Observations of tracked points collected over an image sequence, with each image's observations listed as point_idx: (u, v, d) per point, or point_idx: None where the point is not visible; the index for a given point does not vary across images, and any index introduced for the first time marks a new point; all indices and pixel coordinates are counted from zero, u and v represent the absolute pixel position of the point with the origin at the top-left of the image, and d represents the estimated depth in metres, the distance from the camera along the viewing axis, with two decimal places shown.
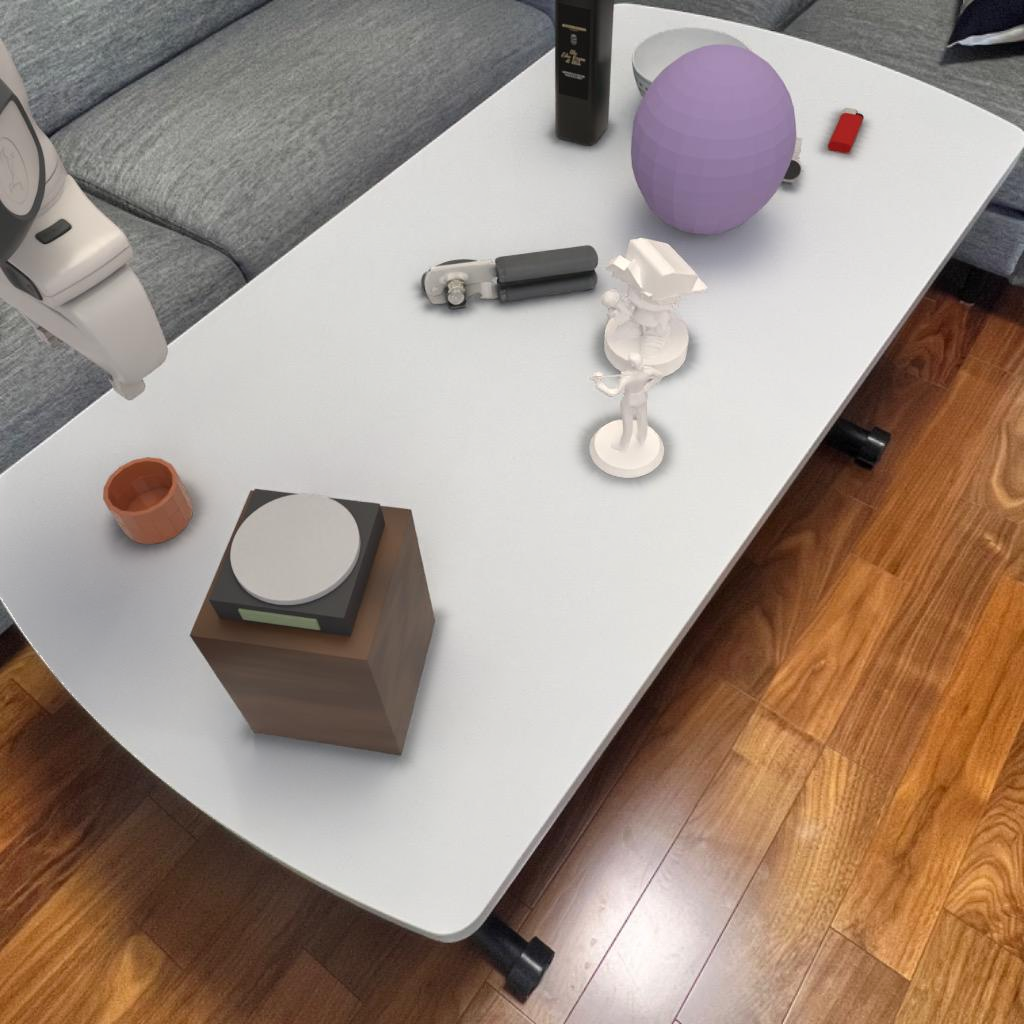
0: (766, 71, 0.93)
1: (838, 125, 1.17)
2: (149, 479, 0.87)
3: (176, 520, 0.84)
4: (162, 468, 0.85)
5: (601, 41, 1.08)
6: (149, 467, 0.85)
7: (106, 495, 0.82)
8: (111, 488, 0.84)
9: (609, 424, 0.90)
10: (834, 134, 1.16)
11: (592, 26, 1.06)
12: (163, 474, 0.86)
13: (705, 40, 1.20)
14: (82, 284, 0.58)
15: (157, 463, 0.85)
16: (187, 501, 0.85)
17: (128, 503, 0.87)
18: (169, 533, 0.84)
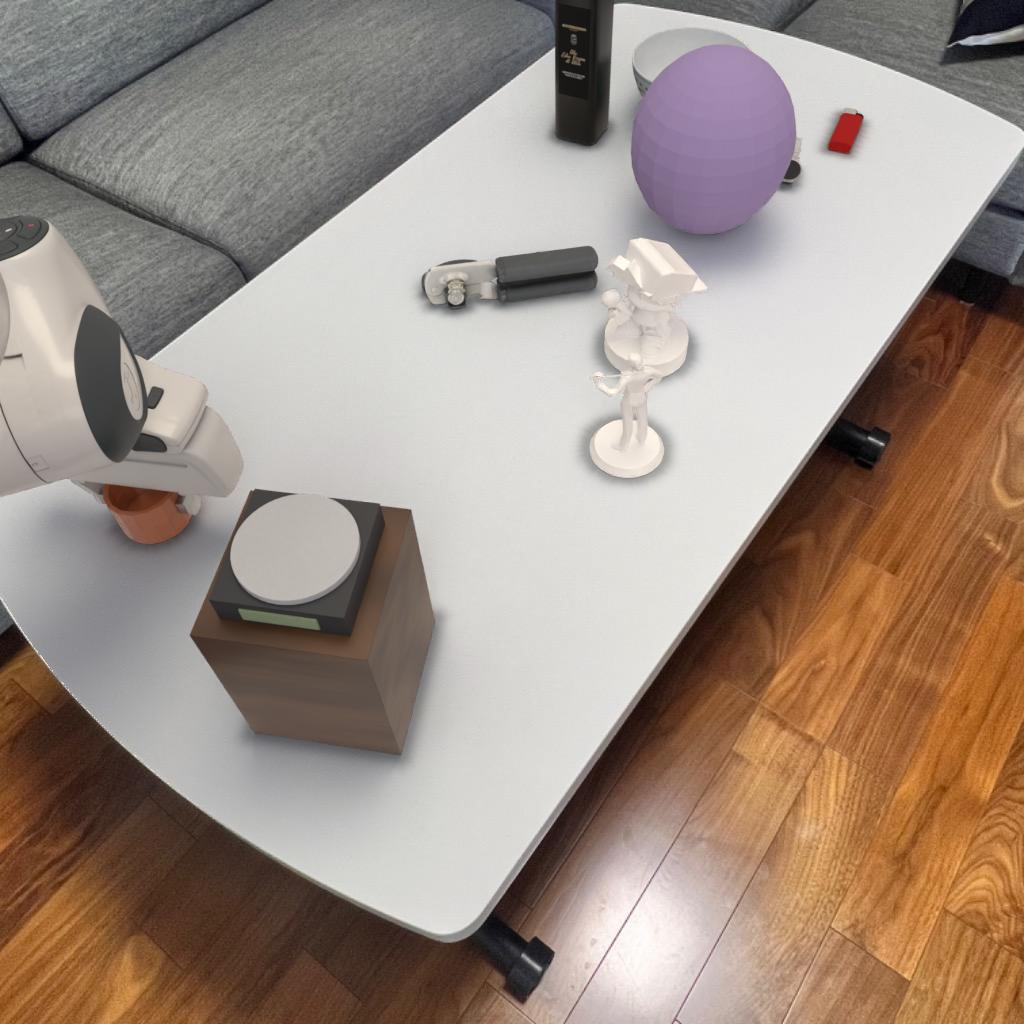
0: (766, 71, 0.93)
1: (838, 125, 1.17)
2: None
3: (176, 520, 0.84)
4: None
5: (601, 41, 1.08)
6: None
7: (106, 495, 0.82)
8: (111, 488, 0.84)
9: (609, 424, 0.90)
10: (834, 134, 1.16)
11: (592, 26, 1.06)
12: None
13: (705, 40, 1.20)
14: (192, 428, 0.73)
15: None
16: None
17: (128, 503, 0.87)
18: (169, 533, 0.84)
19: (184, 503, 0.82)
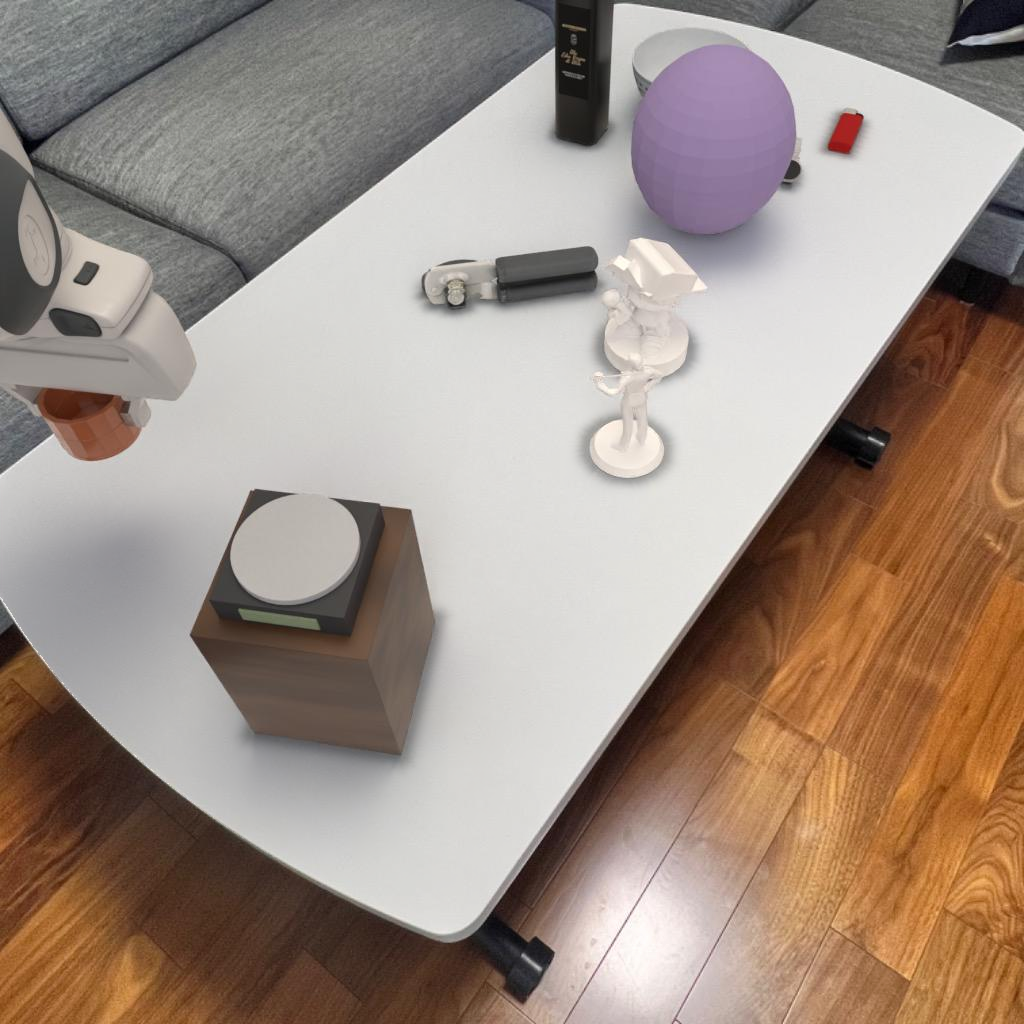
0: (766, 71, 0.93)
1: (838, 125, 1.17)
2: None
3: (122, 433, 0.74)
4: None
5: (601, 41, 1.08)
6: None
7: (41, 403, 0.72)
8: (48, 396, 0.74)
9: (609, 424, 0.90)
10: (834, 134, 1.16)
11: (592, 26, 1.06)
12: None
13: (705, 40, 1.20)
14: (132, 310, 0.63)
15: None
16: None
17: (69, 417, 0.77)
18: (114, 448, 0.74)
19: (130, 412, 0.72)
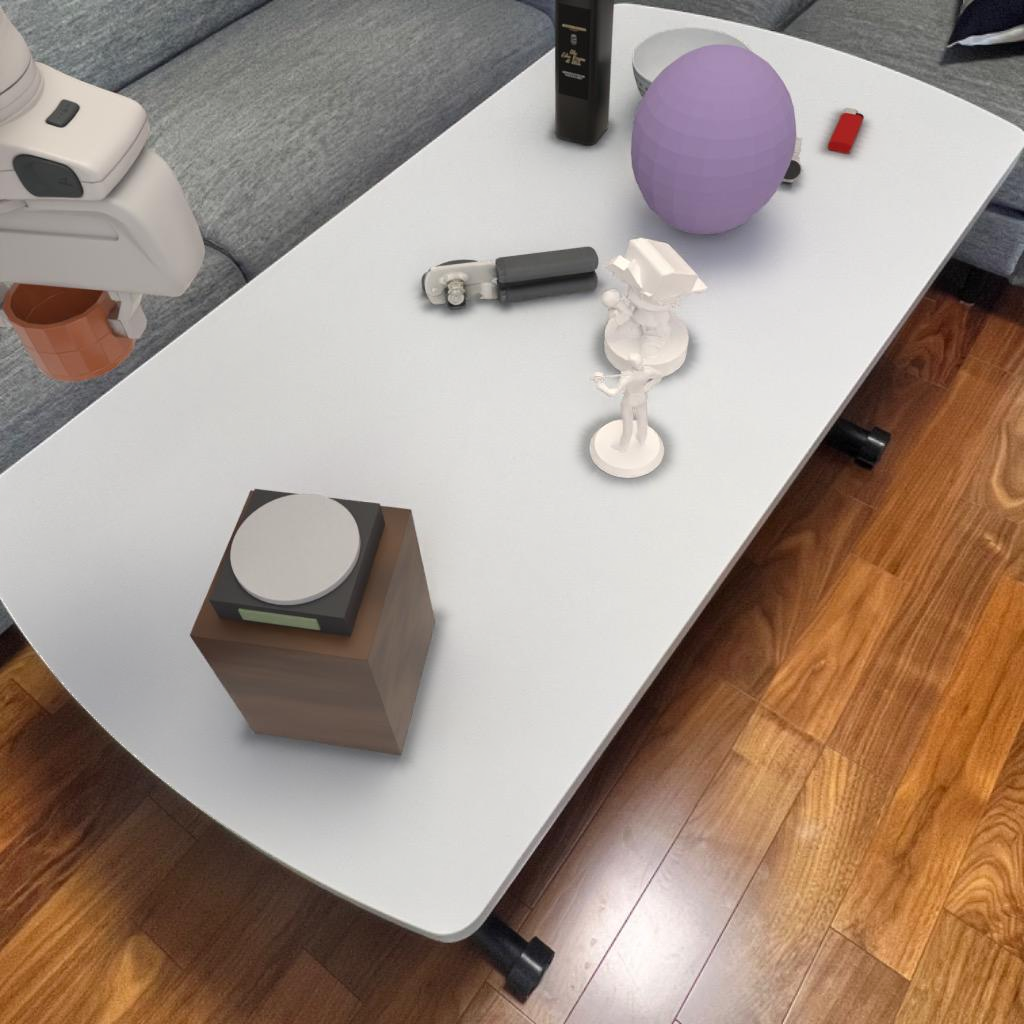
0: (766, 71, 0.93)
1: (838, 125, 1.17)
2: (74, 296, 0.62)
3: (110, 346, 0.59)
4: None
5: (601, 41, 1.08)
6: None
7: (7, 305, 0.57)
8: (16, 298, 0.59)
9: (609, 424, 0.90)
10: (834, 134, 1.16)
11: (592, 26, 1.06)
12: None
13: (705, 40, 1.20)
14: (123, 164, 0.48)
15: None
16: None
17: None
18: (100, 365, 0.59)
19: (120, 316, 0.57)
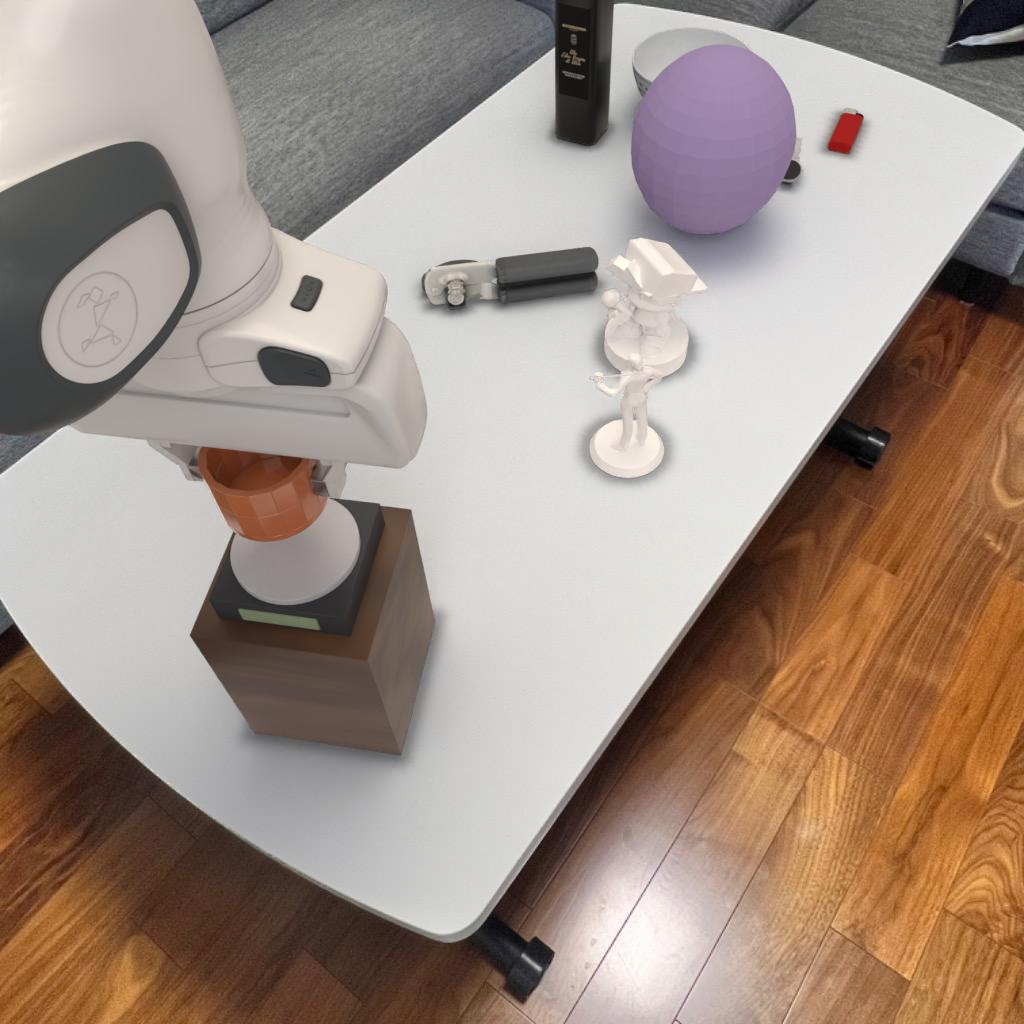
0: (766, 71, 0.93)
1: (838, 125, 1.17)
2: None
3: (310, 504, 0.54)
4: None
5: (601, 41, 1.08)
6: None
7: (203, 465, 0.53)
8: (210, 455, 0.54)
9: (609, 424, 0.90)
10: (834, 134, 1.16)
11: (592, 26, 1.06)
12: None
13: (705, 40, 1.20)
14: (371, 346, 0.43)
15: None
16: None
17: (230, 479, 0.57)
18: (298, 525, 0.55)
19: (326, 479, 0.53)
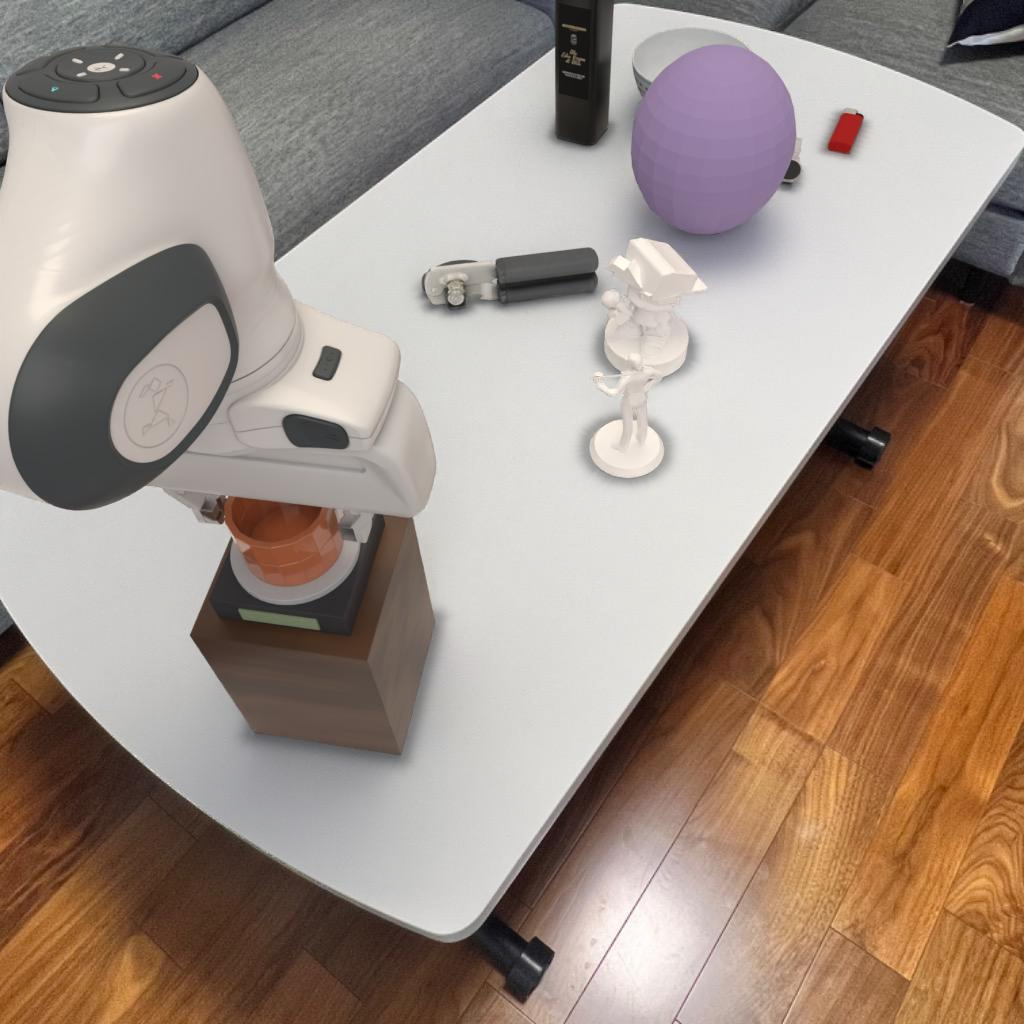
0: (766, 71, 0.93)
1: (838, 125, 1.17)
2: None
3: (327, 552, 0.58)
4: None
5: (601, 41, 1.08)
6: None
7: (229, 517, 0.57)
8: (234, 506, 0.58)
9: (609, 424, 0.90)
10: (834, 134, 1.16)
11: (592, 26, 1.06)
12: None
13: (705, 40, 1.20)
14: (386, 411, 0.47)
15: None
16: None
17: (252, 527, 0.61)
18: (316, 571, 0.59)
19: (354, 526, 0.56)
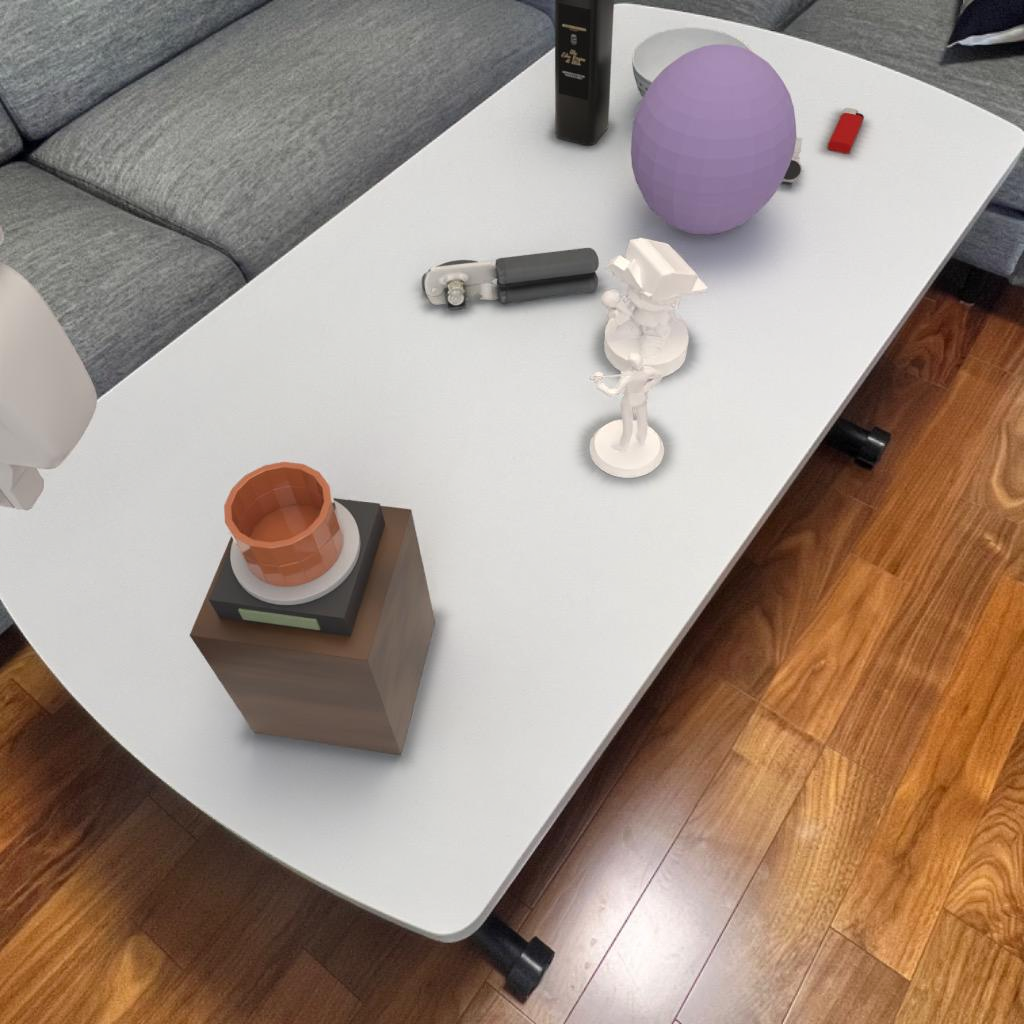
0: (766, 71, 0.93)
1: (838, 125, 1.17)
2: (282, 493, 0.61)
3: (327, 552, 0.58)
4: (304, 478, 0.59)
5: (601, 41, 1.08)
6: (285, 476, 0.60)
7: (229, 517, 0.57)
8: (234, 506, 0.58)
9: (609, 424, 0.90)
10: (834, 134, 1.16)
11: (592, 26, 1.06)
12: (302, 486, 0.60)
13: (705, 40, 1.20)
14: None
15: (298, 470, 0.59)
16: (339, 525, 0.60)
17: (252, 527, 0.61)
18: (316, 571, 0.59)
19: None
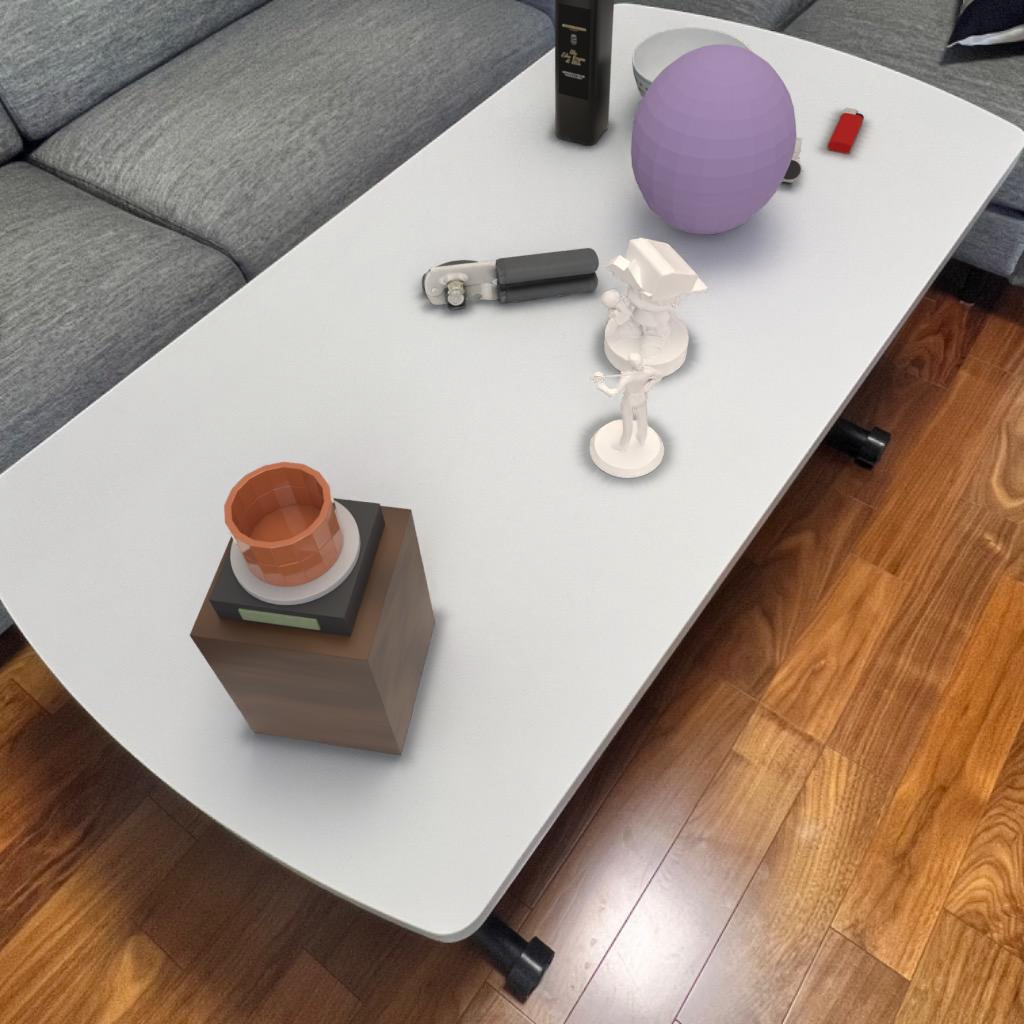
0: (766, 71, 0.93)
1: (838, 125, 1.17)
2: (282, 493, 0.61)
3: (327, 552, 0.58)
4: (304, 478, 0.59)
5: (601, 41, 1.08)
6: (285, 476, 0.60)
7: (229, 517, 0.57)
8: (234, 506, 0.58)
9: (609, 424, 0.90)
10: (834, 134, 1.16)
11: (592, 26, 1.06)
12: (302, 486, 0.60)
13: (705, 40, 1.20)
14: None
15: (298, 470, 0.59)
16: (339, 525, 0.60)
17: (252, 527, 0.61)
18: (316, 571, 0.59)
19: None
